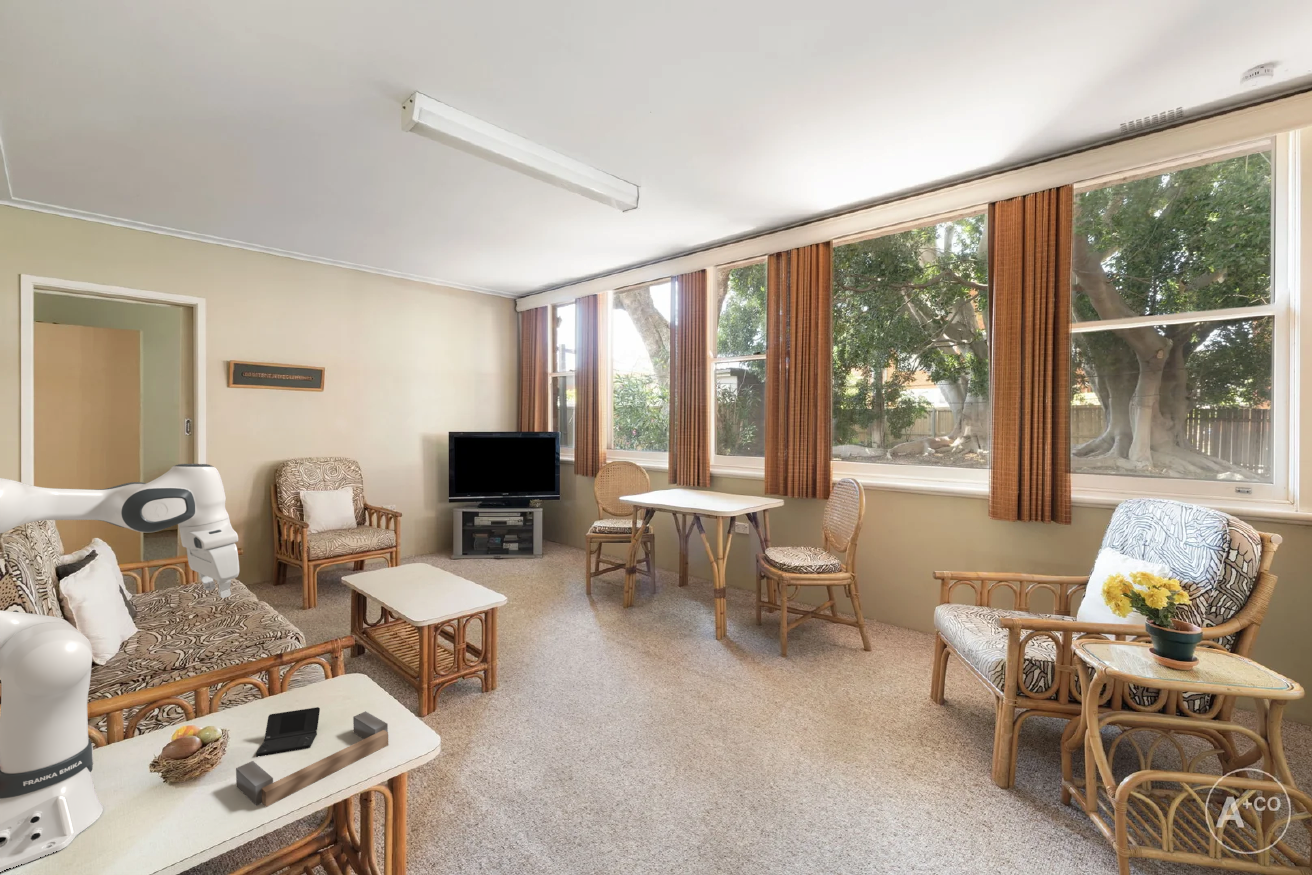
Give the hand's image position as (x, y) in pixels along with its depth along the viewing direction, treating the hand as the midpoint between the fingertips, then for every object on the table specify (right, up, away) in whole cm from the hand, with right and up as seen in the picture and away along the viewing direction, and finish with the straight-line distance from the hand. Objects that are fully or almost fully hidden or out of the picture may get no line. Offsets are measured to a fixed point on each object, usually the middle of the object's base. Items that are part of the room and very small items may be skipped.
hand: (217, 593), depth 124 cm
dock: (+24, -37, -2) cm, 45 cm away
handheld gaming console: (+12, -38, +6) cm, 40 cm away
